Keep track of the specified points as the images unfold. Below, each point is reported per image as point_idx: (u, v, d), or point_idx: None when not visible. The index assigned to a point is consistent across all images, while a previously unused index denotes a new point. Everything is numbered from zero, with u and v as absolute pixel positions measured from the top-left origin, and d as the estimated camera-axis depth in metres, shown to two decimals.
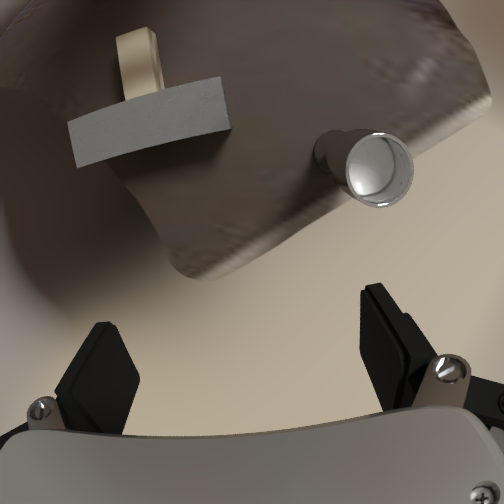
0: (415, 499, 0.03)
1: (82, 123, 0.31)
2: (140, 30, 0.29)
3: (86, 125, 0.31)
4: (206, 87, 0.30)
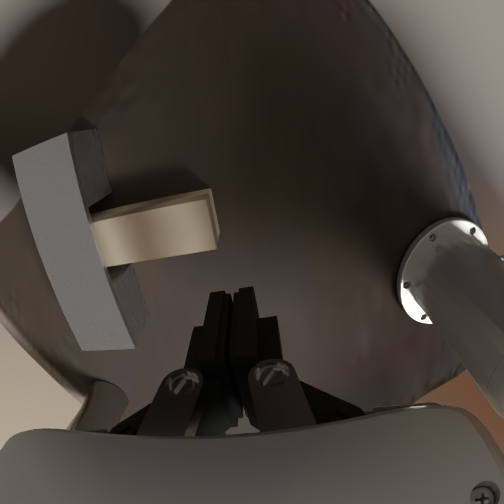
0: (415, 499, 0.03)
1: (63, 162, 0.20)
2: (210, 240, 0.24)
3: (60, 169, 0.20)
4: (119, 334, 0.26)
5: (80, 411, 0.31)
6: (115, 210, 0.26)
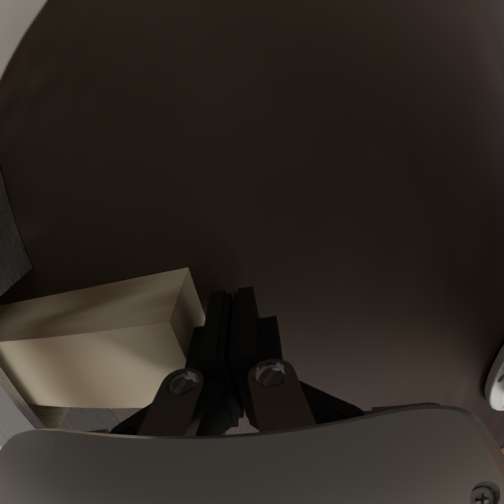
0: (415, 499, 0.03)
1: None
2: None
3: None
4: None
5: None
6: (29, 309, 0.13)
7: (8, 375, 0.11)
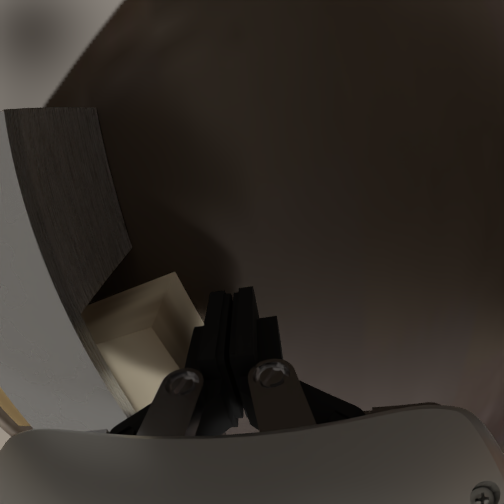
0: (415, 499, 0.03)
1: None
2: None
3: None
4: None
5: None
6: None
7: None
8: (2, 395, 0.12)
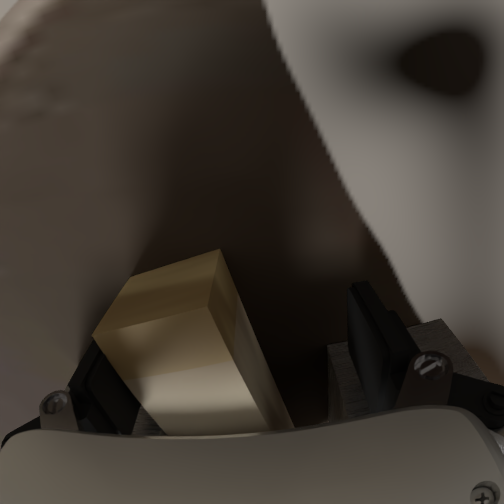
0: (415, 499, 0.03)
1: None
2: None
3: None
4: None
5: None
6: (257, 358, 0.12)
7: (189, 396, 0.10)
8: (176, 355, 0.09)
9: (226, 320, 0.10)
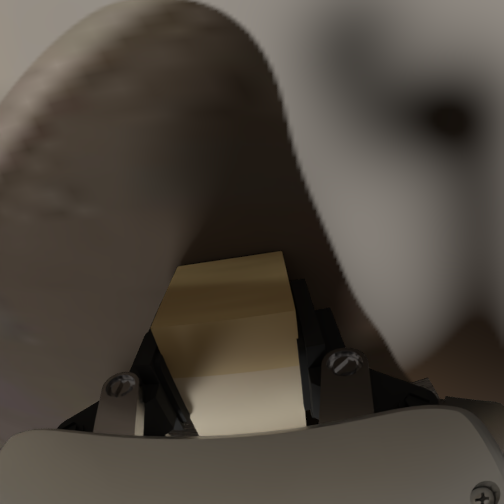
0: (415, 499, 0.03)
1: None
2: None
3: None
4: None
5: None
6: None
7: (241, 398, 0.10)
8: (244, 356, 0.09)
9: None
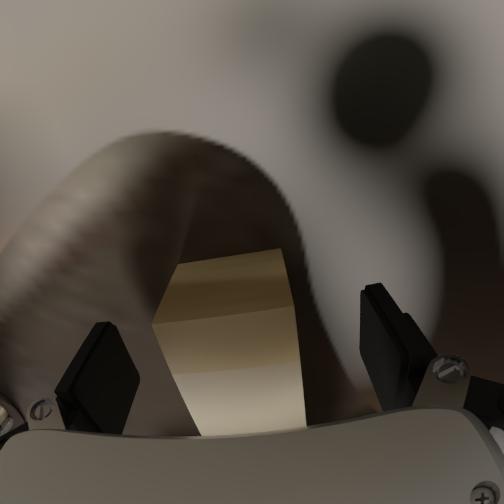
0: (415, 499, 0.03)
1: None
2: None
3: None
4: None
5: None
6: None
7: (241, 394, 0.10)
8: (244, 352, 0.09)
9: None
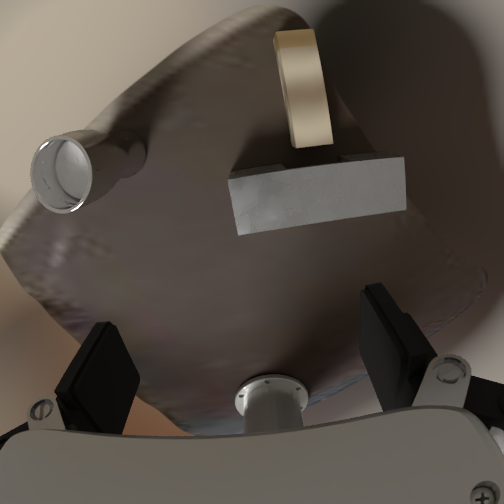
0: (415, 499, 0.03)
1: (389, 204, 0.33)
2: (303, 144, 0.32)
3: (385, 201, 0.32)
4: (252, 224, 0.33)
5: (124, 143, 0.30)
6: None
7: (300, 56, 0.28)
8: (301, 40, 0.27)
9: None
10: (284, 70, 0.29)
